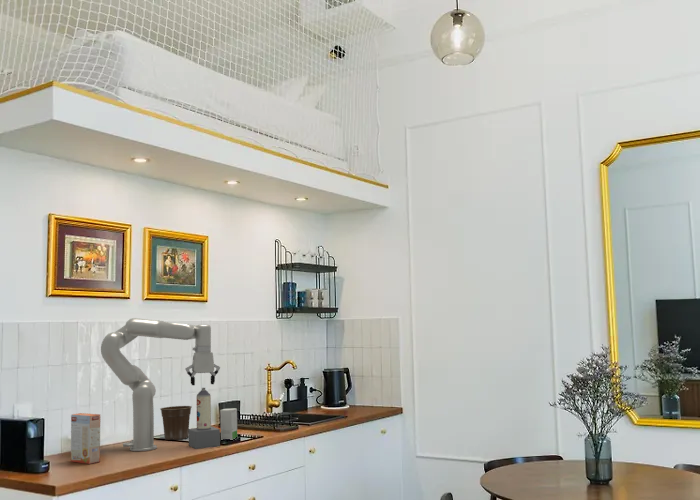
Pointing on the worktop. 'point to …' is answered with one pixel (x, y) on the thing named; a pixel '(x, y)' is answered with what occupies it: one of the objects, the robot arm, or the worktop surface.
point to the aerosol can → (203, 410)
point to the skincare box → (228, 423)
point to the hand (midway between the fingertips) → (202, 384)
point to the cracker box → (85, 438)
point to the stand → (204, 438)
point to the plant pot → (176, 422)
